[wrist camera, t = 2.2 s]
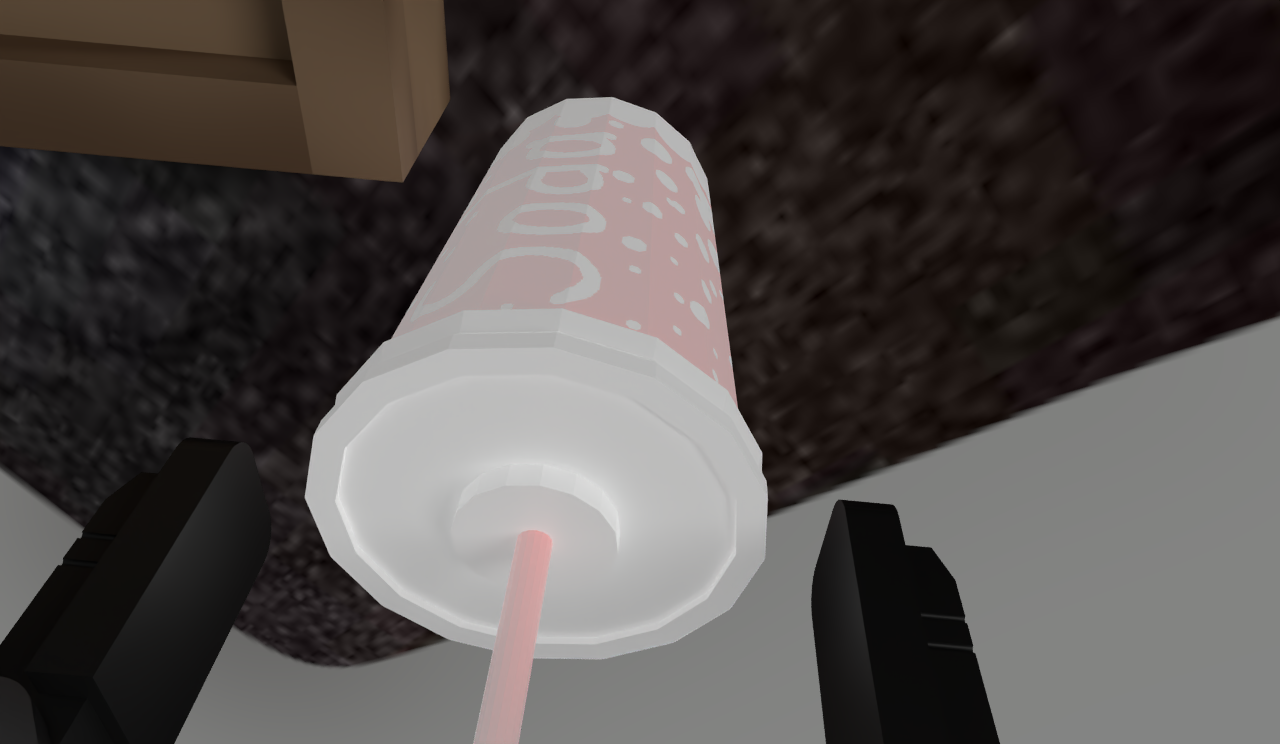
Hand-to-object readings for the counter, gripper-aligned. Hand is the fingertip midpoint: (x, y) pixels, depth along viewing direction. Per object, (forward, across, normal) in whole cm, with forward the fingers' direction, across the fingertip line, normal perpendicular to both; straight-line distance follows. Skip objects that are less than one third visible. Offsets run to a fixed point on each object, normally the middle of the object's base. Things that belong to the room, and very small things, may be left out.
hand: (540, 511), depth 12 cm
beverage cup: (+9, 0, 0) cm, 9 cm away
